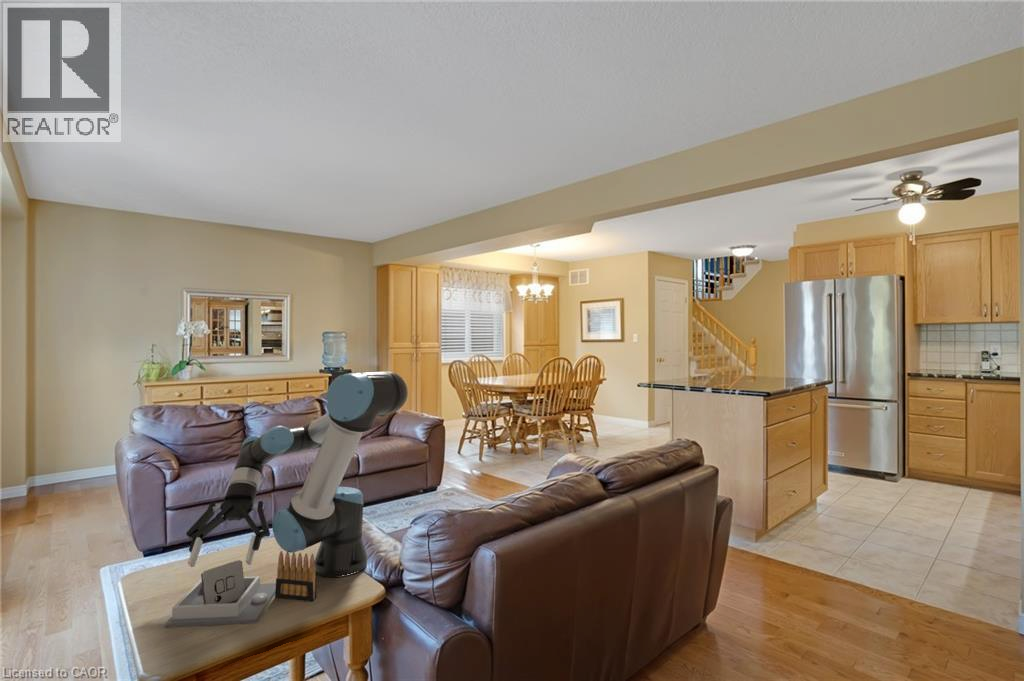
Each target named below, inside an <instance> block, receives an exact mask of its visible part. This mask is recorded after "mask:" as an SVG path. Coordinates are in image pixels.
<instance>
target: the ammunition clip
mask: <svg viewBox="0 0 1024 681" xmlns="http://www.w3.org/2000/svg"><path fill="white" fill-rule="evenodd" d="M277 564H278V565H277V568H276V569H277V570H276V572H277V576H276V578H275V583H276V590H275V594H274V598H275V599H282V600H293V601H298V602H299V601H302V602H309V603H310V602H311V603H312V602H314V601H315V600H316V599H317V578H316V572H315V556H314V554H313V553H312V554H311V555H310V558H309V555H308V553H305V555H304V557H303V556H302V553H301V552H299V553H298V555H297V556H296V552H293V553H292V555H291V558H290V553H289V552H286V553H285V557H284V554H283V551H282V550H280V552H279V555H278V562H277Z"/></svg>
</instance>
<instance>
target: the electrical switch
mask: <svg viewBox="0 0 1024 681" xmlns="http://www.w3.org/2000/svg"><path fill="white" fill-rule="evenodd" d="M244 577H245V576H244V567H243V561H242V560H241V559H237V560H234V561H232V562H231V561H230V562H227V563H225V564H221V565H219V566H215V567H213V568H209V569H206V570H204V571H203V572H202V573H200V580H202V590H203V601H204V605H205V604H227V603H230V602H233V601H235V600H238V599H240V597H241V596H242V595H243V594H244V592H245V584H244ZM216 598H217V600H216Z"/></svg>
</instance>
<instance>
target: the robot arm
mask: <svg viewBox="0 0 1024 681" xmlns="http://www.w3.org/2000/svg"><path fill="white" fill-rule="evenodd" d="M407 399H408V386H407V383H406V382H405V380H404V379H403V377H402V376H400V375H399V374H397V373H396V372H393V371H388V370H381V371H367V372H366V371H364V372H362V371H361V372H360V371H353V372H349V373H344V374H341V375H338V376H337V377H336V378H334V380H332V381H331V383H330V385H329V386H328V389H327V391H326V394H325V401H326V402H327V403H325V407H326V410H327V413H325V414H323V415H322V416H319V417H318V418H316V419H314V420H313V421H311V422H309V423H307V424H305V425H301V426H296V427H295V426H294V427H290V428H288V427H287V426H283V425H275V426H273V427H272V428H269V429H268V430H267V431H265V432H264V433H263V434H261V435H253V436H248V437H247V438H245V439H244V441H243V442H242V445H241V447H240V449H239V454H238V456H237V459H236V462H235V465H234V470H233V472H232V475H231V478H230V481H229V483H228V484H229V485H228V487H227V490H226V494H225V495H224V498H223V499H224V500H223V501H222V503H221V504H220V503H216V502H214V501H212V502H210V503H209V505H208V508H207V509H206V510H205V511H204V513H203V514H201V516H200V517H199V518H198V519H197V520H196V521H195V523H194V524H193V525H192V526H191V527H190V528H189V529H188V530H187V532H186V535H185V536H187V538H188V539H189V540H191V541H190V545H189V547H188V551H189V553H190V556H189V558H188V560H187V561H188V562H187V564H188V565H189V566H190V568H195V566H196V562H197V560H198V557H199V554H200V551H201V549H202V546H203V543H204V542H203V540H202V539H203V538H204V537H206V536H207V535H209V534H210V533H211V532H212V531H213V530H215V529H216V528H217V527H218V526H219V525H221V524H223V523H225V522H226V521H227V520H228V522H229V521H231V522H232V521H241V520H243V519H244V520H245V521H246V522H247V524H248V526H249V527H250V529H251V530H252V531H253V534H254V535H251V539H250V542H249V546H248V550H247V553H246V556H245V559H244V560H245V563H246V564H247V566H248V565H249V566H250V565H252V562H253V558H254V554H255V551H259V549H260V546H261V543H262V539H263V538H265V537H267V538H268V537H269V536H270V535H271V531H270V528H269V525H268V521H267V518H266V515H265V508H266V506H265V503H264V502H263V500H260V501H258V502H256V503H254V502H255V499H256V495H257V493H258V489H259V486H260V481H261V479H262V476H263V475H262V474H263V471H264V468H265V466H266V464H268V463H269V462H271V461H272V460H274V459H276V458H277V457H280V456H286V455H291V454H294V453H298V452H305V451H309V450H316V449H318V451H317V454H316V457H315V458H314V461H313V463H312V466H311V468H310V470H309V473H308V475H307V476H306V479H305V481H304V484H303V486H302V488H301V490H298V491H297V492H295V493H294V494H293V495H292V497H291V500H290V501H289V504H288V506H287V507H286V508H282V509H280V510H279V511H277V512H276V513H275V514H274V516H273V518H272V524H271V525H272V527H271V528H272V532H273V535H274V536H273V537H274V539H275V541H276V543H277V545H278V546H279V547H280V548H281V549H282V550H283V551H285V552H286V553H287V552H288V553H289V554H290V553H292V554H293V552H294V553H297V552H300V551H304V550H306V549H307V548H310V547H312V546H314V545H317V544H319V547H318V549H317V552H316V555H315V557H314V560H315V574H317V575H318V576H321V577H326V578H338V577H337V576H342V575H347V574H351V573H354V572H357V571H360V572H362V571H363V570H364V569H366V567H367V566H368V553H367V551H366V547H365V544H364V540H363V519H364V518H363V516H364V495H363V492H362V490H360V489H358V488H355V487H350V486H340V484H341V483H342V481H343V478H344V476H345V474H346V471H347V469H348V467H349V465H350V462H351V460H352V459H353V456H354V454H355V452H356V450H357V448H358V445H359V443H360V441H361V438H362V436H363V434H365V433H368V432H370V431H371V430H372V428H373V427H374V424H375V422H376V420H377V418H384V417H386V416H388V415H389V414H393V413H395V412H398V411H399V410H400V409H401V408H402V407H403V406H404V405H405V403H406V401H407ZM254 509H255V511H256V512H257V514H258V518H259V521H260V524H261V527H262V530H260V529H259V528H258V526H257V525H256V523H255V522H254V521H253V519H252V517H251V515H250V513H252V511H254ZM219 510H220V511H219ZM218 511H219V512H218ZM216 513H217V514H216ZM215 514H216V516H214V515H215ZM366 565H367V566H366Z"/></svg>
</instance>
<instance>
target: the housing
mask: <svg viewBox="0 0 1024 681" xmlns="http://www.w3.org/2000/svg"><path fill="white" fill-rule="evenodd" d="M244 584H245V592H244V594H243V595H242V596H241V597H240V599H238V600H235V601H233V602H230V603H227V604H205V605H204V601H203V590H202V580H201V579H200V580H199V581H197V582H196V584H194V585H193V587H192V588H190V590H188V591H187V592H186V593H185V595H184V596H182V598H180V599H179V600H178V601H177V603H175V604H174V606H172V607H171V608H172V609H171V610H172V614H171V617H170V618H169V619H168V620H167V621H166V622H165V623H164V628H171V627H172V628H174V627H192V626H193V627H194V626H195V627H196V626H215V625H216V626H217V625H233V624H235V625H236V624H238V625H239V624H255V623H257V622H258V621H259V619H260V617H261V616H262V614H263V612H264V611H265V610H266V608H267V607H268V605H269V604H270V602H271V601H272V599H273V597H275V590H276V582H274V583H273V582H272V583H271V582H270V583H261V576H257V575H256V576H244ZM216 600H217V598H216Z"/></svg>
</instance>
